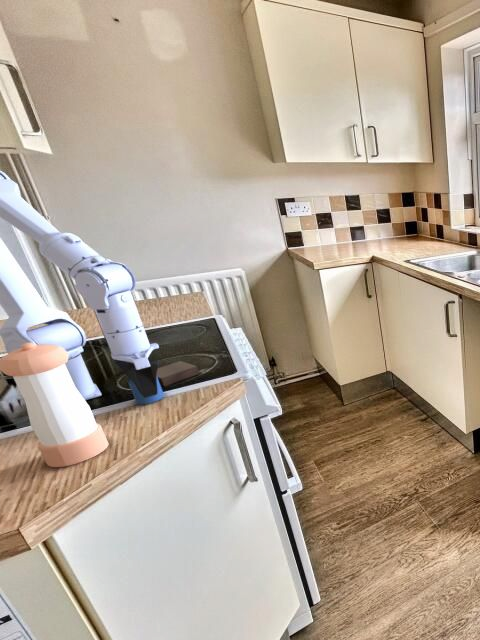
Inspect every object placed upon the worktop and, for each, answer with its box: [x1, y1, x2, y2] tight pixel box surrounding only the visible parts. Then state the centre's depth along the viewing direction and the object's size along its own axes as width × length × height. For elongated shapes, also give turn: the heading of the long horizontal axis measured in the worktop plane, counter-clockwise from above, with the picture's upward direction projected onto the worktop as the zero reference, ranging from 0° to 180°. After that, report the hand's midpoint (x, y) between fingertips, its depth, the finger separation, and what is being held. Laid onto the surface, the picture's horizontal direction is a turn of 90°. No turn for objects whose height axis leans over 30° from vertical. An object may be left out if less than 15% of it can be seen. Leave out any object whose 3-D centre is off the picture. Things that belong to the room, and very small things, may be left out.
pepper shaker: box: [0, 343, 109, 468], centre depth 65 cm, size 7×7×19 cm
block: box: [157, 360, 200, 387], centre depth 95 cm, size 7×7×2 cm
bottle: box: [128, 378, 165, 405], centre depth 84 cm, size 4×4×7 cm
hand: (147, 392), depth 85 cm, fingers closed on bottle, 4 cm apart
